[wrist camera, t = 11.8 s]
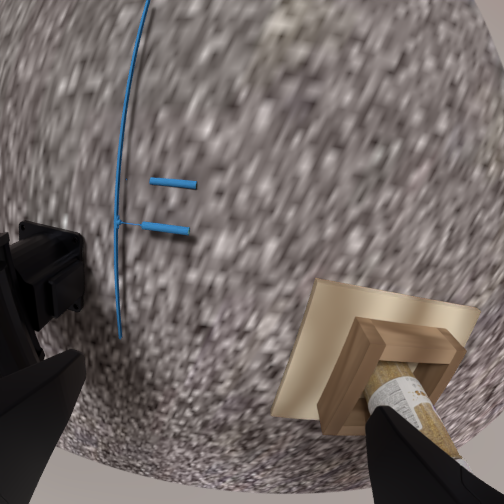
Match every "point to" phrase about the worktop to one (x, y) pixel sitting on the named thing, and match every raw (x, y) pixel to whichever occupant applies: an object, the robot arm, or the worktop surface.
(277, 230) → the worktop surface
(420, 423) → the sprinkles bottle
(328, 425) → the bottle stand
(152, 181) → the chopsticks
